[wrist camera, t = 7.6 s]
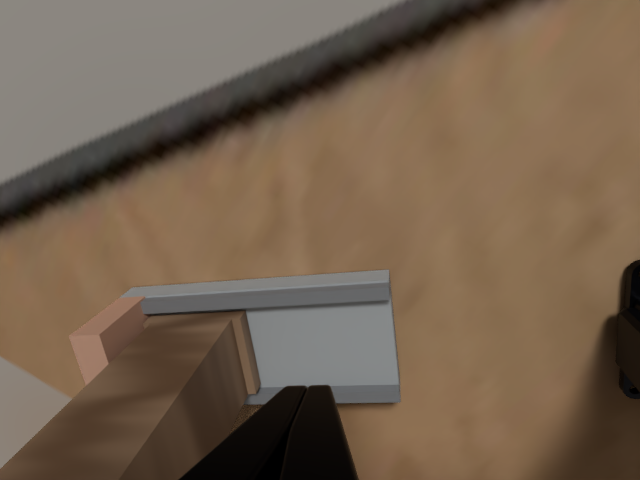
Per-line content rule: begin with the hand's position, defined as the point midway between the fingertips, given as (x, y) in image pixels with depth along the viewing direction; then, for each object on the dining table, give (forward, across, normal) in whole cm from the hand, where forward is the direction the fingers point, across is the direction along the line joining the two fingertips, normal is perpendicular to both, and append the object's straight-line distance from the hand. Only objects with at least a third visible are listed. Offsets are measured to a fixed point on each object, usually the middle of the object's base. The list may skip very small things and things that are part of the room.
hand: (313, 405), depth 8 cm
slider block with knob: (+11, +8, +6) cm, 15 cm away
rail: (+12, +6, +6) cm, 15 cm away
